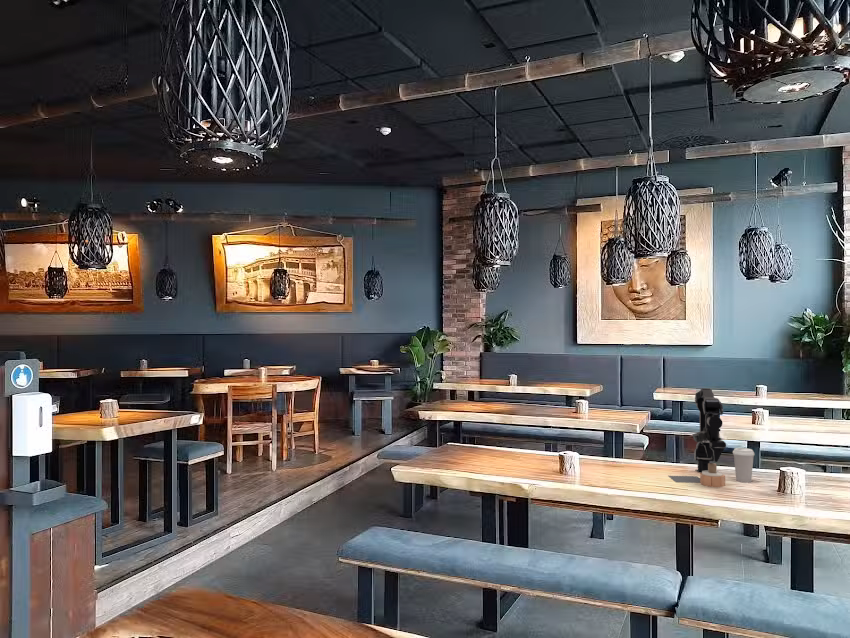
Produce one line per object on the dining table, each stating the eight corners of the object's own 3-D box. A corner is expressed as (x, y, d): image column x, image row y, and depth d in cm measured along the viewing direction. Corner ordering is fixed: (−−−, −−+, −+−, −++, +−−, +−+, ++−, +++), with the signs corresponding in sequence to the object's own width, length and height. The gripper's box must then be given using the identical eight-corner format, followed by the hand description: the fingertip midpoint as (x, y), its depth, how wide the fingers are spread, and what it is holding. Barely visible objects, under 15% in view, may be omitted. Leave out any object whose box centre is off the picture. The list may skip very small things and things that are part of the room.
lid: (699, 472, 305) (699, 461, 305) (718, 472, 304) (718, 461, 304) (705, 476, 296) (705, 465, 296) (726, 476, 295) (726, 465, 295)
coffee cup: (743, 477, 315) (742, 447, 315) (759, 482, 306) (759, 450, 306) (728, 479, 312) (727, 448, 312) (744, 483, 303) (744, 451, 303)
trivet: (667, 476, 317) (667, 475, 317) (697, 477, 316) (697, 476, 316) (675, 483, 303) (675, 482, 303) (706, 484, 302) (706, 483, 302)
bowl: (698, 482, 305) (697, 472, 305) (720, 483, 304) (719, 472, 304) (705, 487, 295) (705, 476, 295) (727, 488, 294) (727, 477, 294)
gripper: (688, 423, 310) (688, 455, 310) (700, 428, 292) (701, 463, 291) (712, 423, 309) (712, 456, 309) (726, 429, 291) (726, 464, 290)
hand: (712, 459), depth 300 cm, fingers open, 9 cm apart
